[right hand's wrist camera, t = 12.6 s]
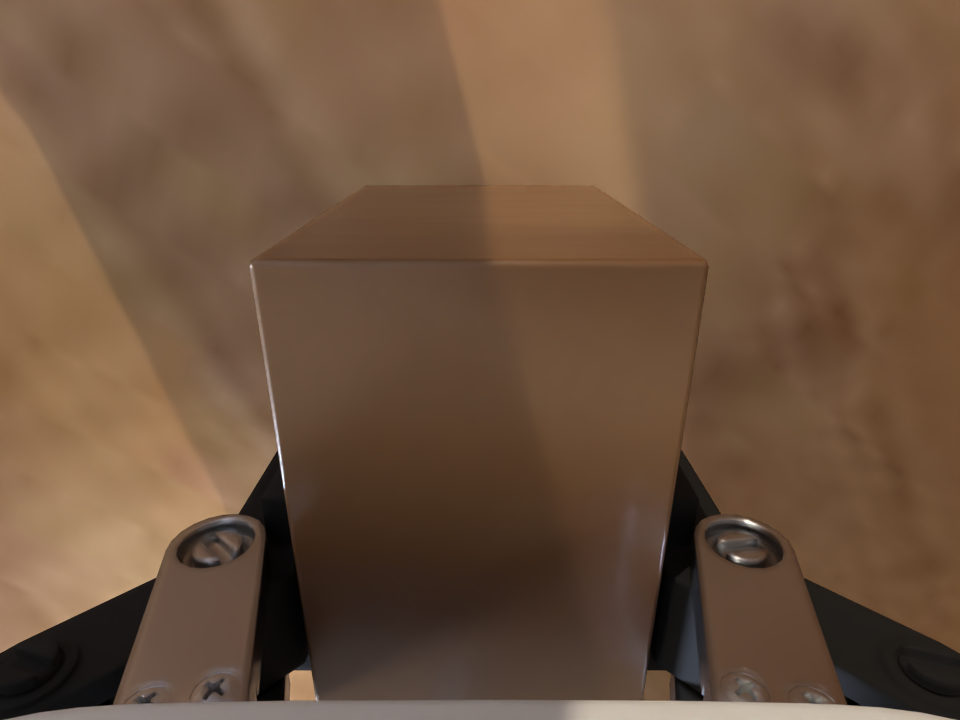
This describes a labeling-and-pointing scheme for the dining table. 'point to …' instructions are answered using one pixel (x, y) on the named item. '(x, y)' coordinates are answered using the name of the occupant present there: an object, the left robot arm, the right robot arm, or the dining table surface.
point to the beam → (479, 436)
